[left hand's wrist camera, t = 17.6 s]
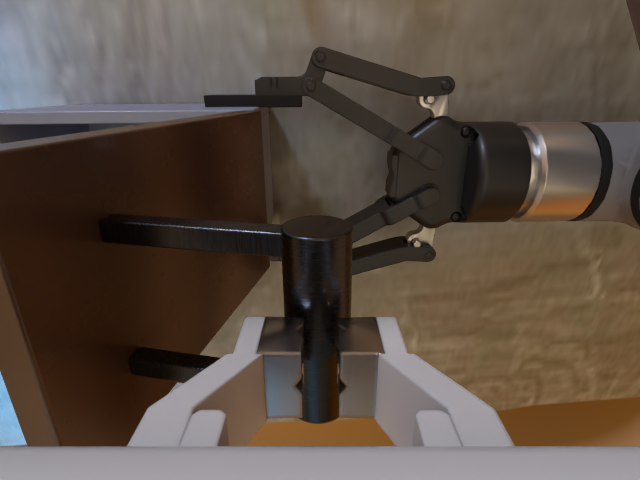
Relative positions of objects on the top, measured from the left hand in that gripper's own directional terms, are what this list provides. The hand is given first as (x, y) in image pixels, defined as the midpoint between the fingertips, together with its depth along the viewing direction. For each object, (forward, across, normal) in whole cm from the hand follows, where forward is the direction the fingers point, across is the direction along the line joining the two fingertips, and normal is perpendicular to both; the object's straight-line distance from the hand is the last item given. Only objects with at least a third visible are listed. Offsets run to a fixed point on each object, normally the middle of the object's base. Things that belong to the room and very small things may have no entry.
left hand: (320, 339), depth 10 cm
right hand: (+21, +8, 0) cm, 22 cm away
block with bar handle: (+7, +6, 0) cm, 10 cm away
